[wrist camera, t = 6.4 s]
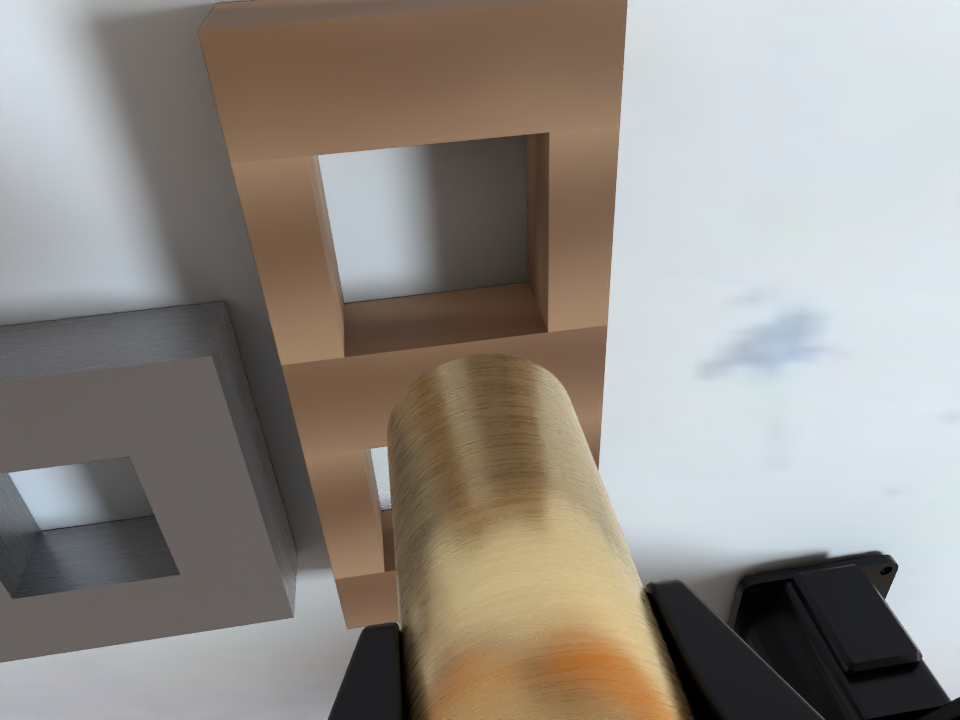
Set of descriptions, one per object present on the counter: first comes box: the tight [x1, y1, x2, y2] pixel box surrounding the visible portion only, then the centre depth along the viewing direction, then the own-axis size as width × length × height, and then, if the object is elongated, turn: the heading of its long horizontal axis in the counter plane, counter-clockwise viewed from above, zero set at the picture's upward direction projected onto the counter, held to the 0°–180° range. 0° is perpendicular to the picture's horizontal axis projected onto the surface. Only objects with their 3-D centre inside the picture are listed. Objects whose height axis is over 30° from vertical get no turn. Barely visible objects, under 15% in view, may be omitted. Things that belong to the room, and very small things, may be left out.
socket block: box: [0, 301, 298, 662], centre depth 21 cm, size 10×10×2 cm
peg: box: [387, 354, 695, 720], centre depth 8 cm, size 3×3×9 cm
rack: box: [197, 0, 627, 629], centre depth 20 cm, size 18×8×2 cm, turn 3°
